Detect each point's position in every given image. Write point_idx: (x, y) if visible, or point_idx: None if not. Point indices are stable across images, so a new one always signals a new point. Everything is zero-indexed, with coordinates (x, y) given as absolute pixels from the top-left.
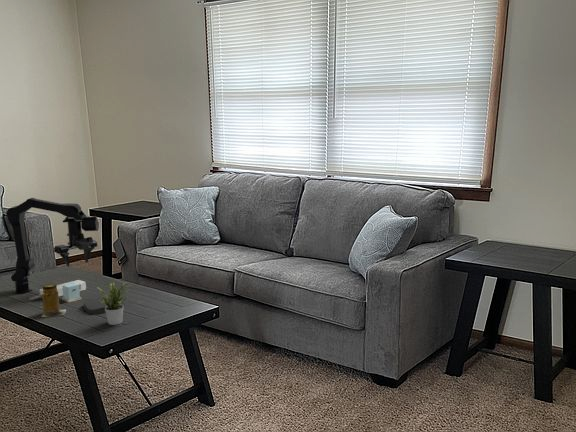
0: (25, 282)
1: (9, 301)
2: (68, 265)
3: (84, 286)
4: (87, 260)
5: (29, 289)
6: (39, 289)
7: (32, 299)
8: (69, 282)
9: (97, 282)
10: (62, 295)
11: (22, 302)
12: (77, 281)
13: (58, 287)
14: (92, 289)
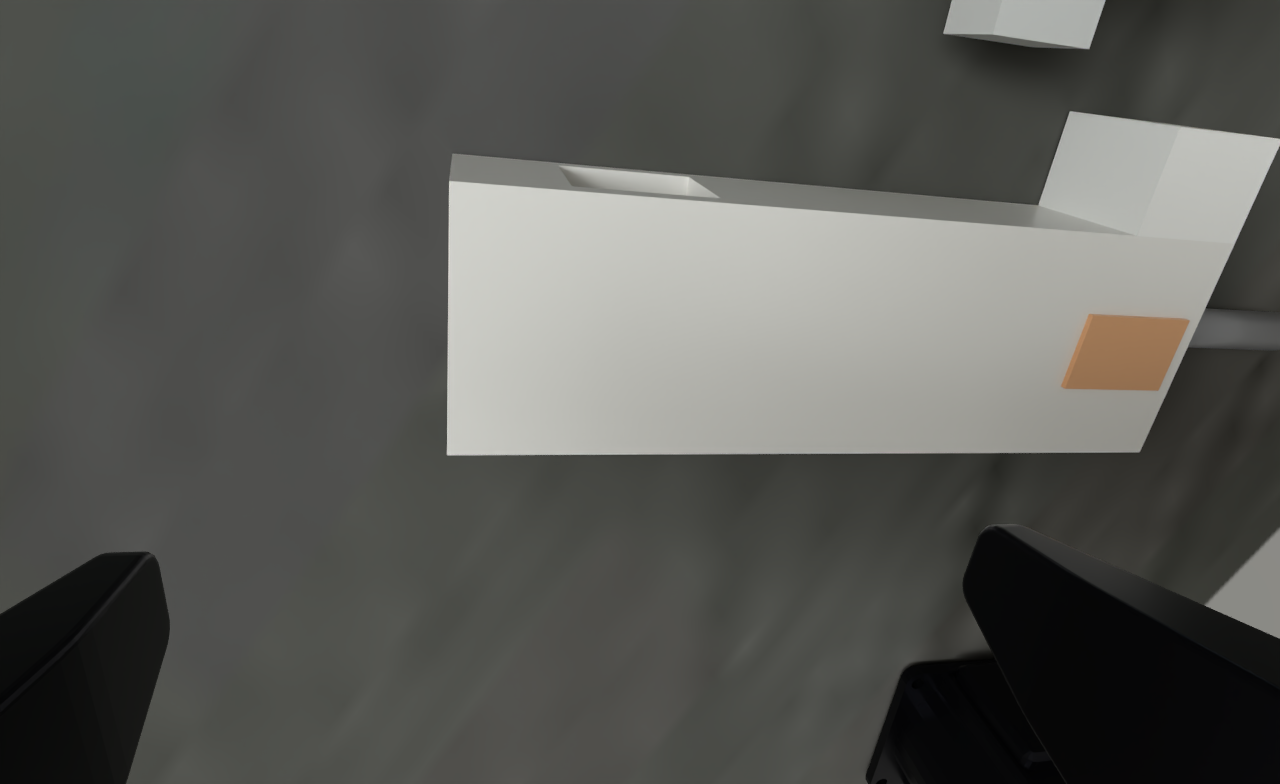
0: (1054, 766)
1: (1255, 511)
2: (1044, 543)
3: (486, 166)
4: (59, 602)
5: (913, 706)
6: (1140, 450)
7: (1251, 311)
8: (665, 432)
9: (29, 372)
10: (902, 193)
11: (1269, 370)
12: (534, 372)
13: (973, 310)
14: (368, 24)
